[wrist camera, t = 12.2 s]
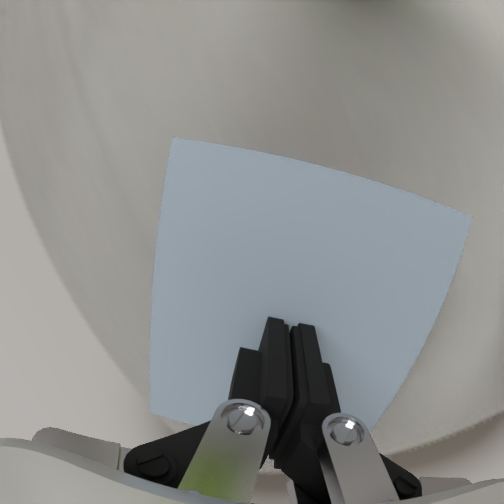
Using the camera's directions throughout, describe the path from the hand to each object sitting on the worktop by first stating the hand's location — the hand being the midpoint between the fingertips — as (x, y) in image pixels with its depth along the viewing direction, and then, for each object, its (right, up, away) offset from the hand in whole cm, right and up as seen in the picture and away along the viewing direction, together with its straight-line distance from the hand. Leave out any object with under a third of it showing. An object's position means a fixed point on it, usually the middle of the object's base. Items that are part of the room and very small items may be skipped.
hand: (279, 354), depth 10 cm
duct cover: (+1, +1, +1) cm, 1 cm away
